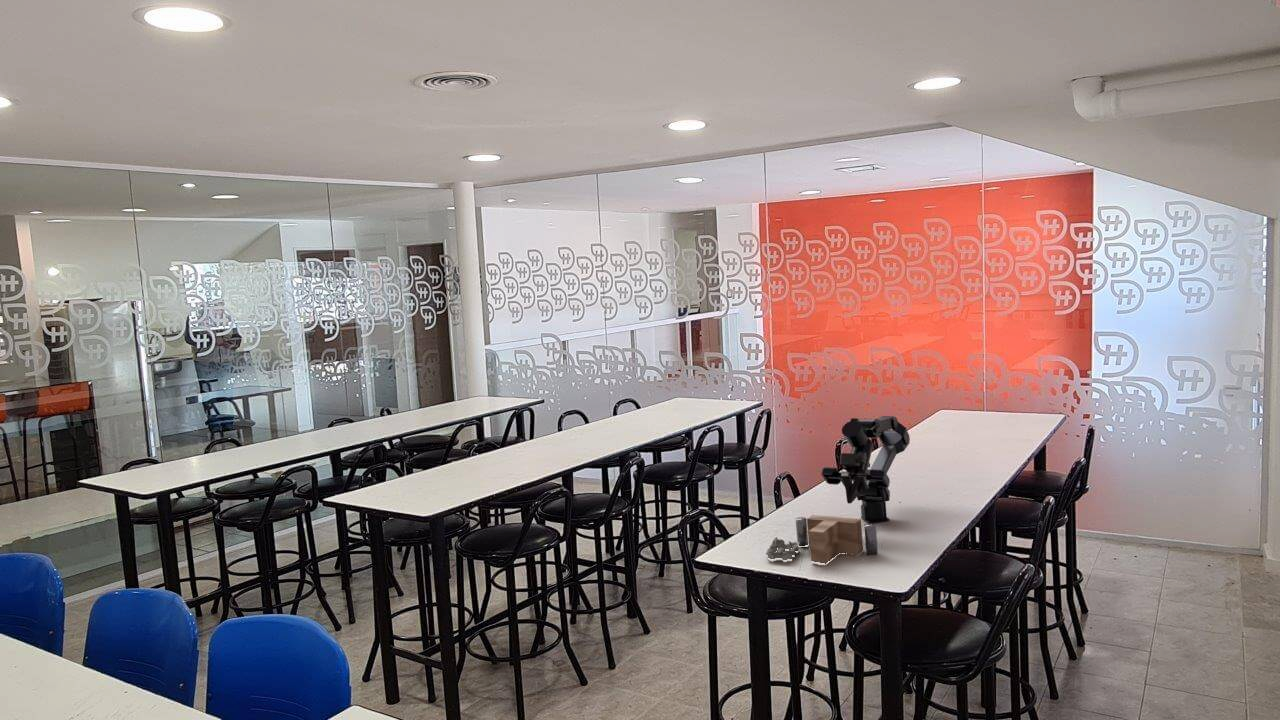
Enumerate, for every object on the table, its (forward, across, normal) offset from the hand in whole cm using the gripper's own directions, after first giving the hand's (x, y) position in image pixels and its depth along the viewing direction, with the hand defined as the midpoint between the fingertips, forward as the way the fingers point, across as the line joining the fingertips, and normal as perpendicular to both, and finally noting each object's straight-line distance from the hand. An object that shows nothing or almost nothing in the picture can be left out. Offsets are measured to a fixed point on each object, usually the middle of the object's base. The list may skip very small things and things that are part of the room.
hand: (848, 502), depth 242 cm
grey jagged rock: (+22, -12, -7) cm, 26 cm away
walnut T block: (+19, 0, -4) cm, 20 cm away
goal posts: (+15, 0, 0) cm, 15 cm away
